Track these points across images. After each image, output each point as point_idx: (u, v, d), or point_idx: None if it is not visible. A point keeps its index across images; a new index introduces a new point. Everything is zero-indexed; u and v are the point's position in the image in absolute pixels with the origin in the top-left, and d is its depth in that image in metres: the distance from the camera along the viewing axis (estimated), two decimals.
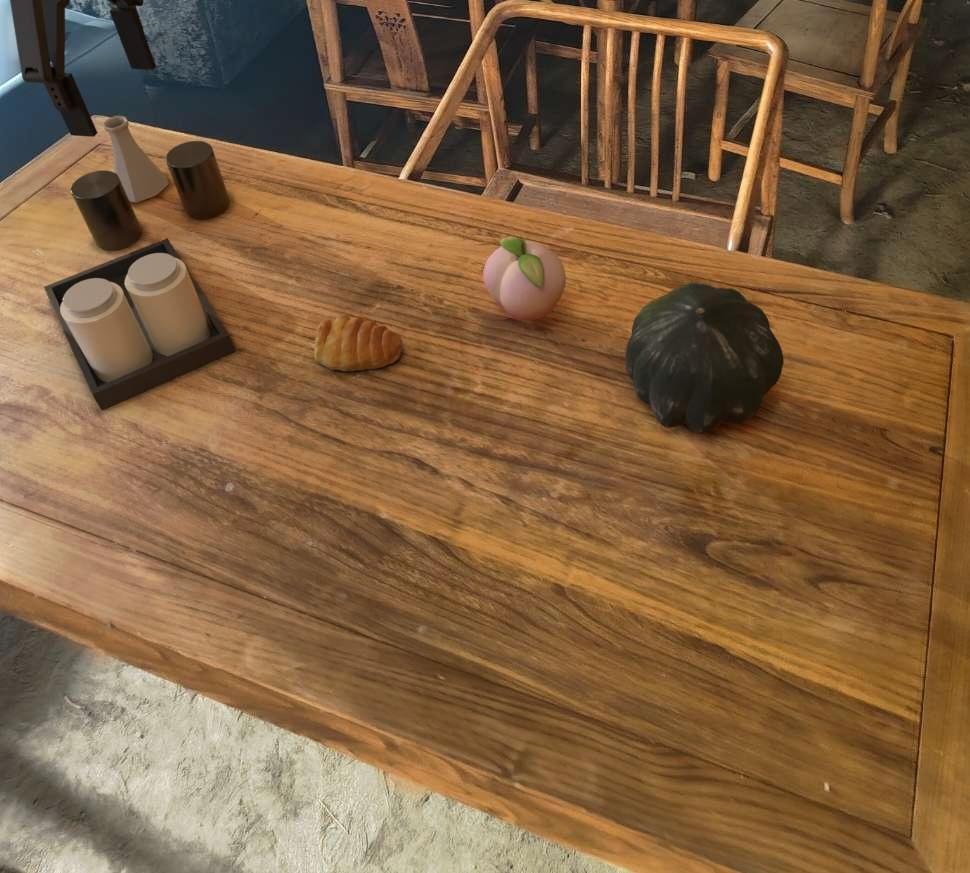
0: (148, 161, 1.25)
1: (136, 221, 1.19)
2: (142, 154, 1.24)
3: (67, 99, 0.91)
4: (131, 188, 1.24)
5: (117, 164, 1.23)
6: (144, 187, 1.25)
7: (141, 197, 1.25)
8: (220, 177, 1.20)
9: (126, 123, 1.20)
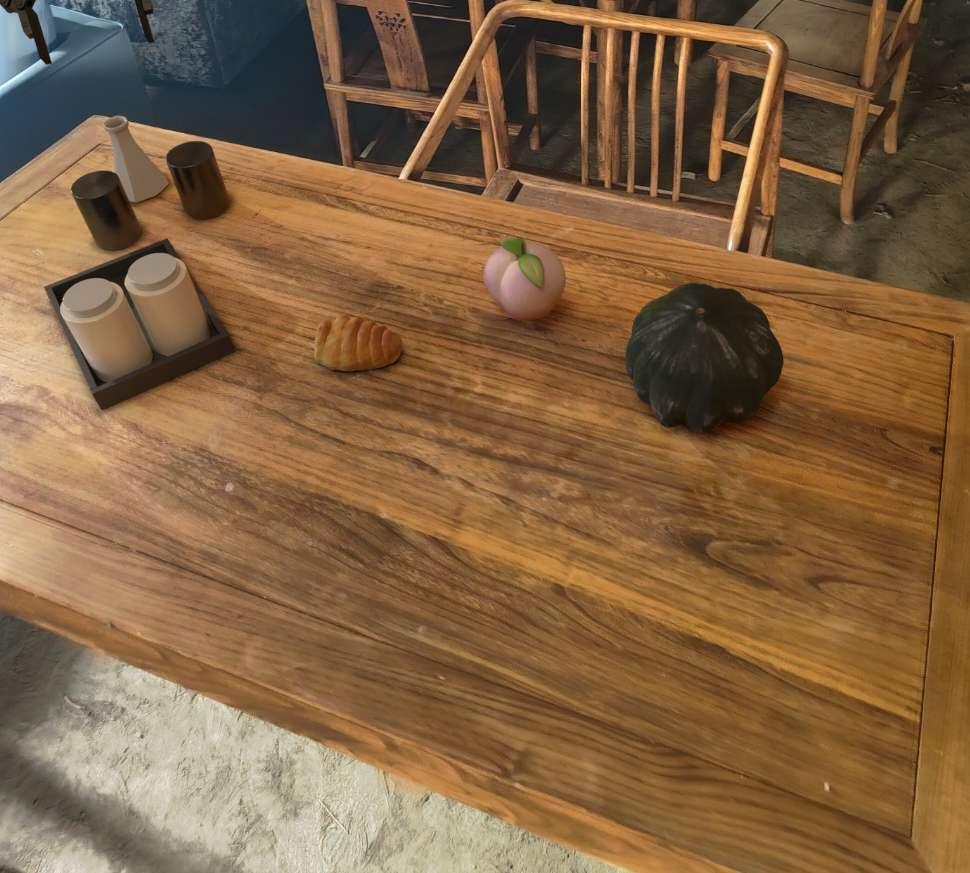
0: (148, 161, 1.25)
1: (136, 221, 1.19)
2: (142, 154, 1.24)
3: (26, 26, 1.21)
4: (131, 188, 1.24)
5: (117, 164, 1.23)
6: (144, 187, 1.25)
7: (141, 197, 1.25)
8: (220, 177, 1.20)
9: (126, 123, 1.20)
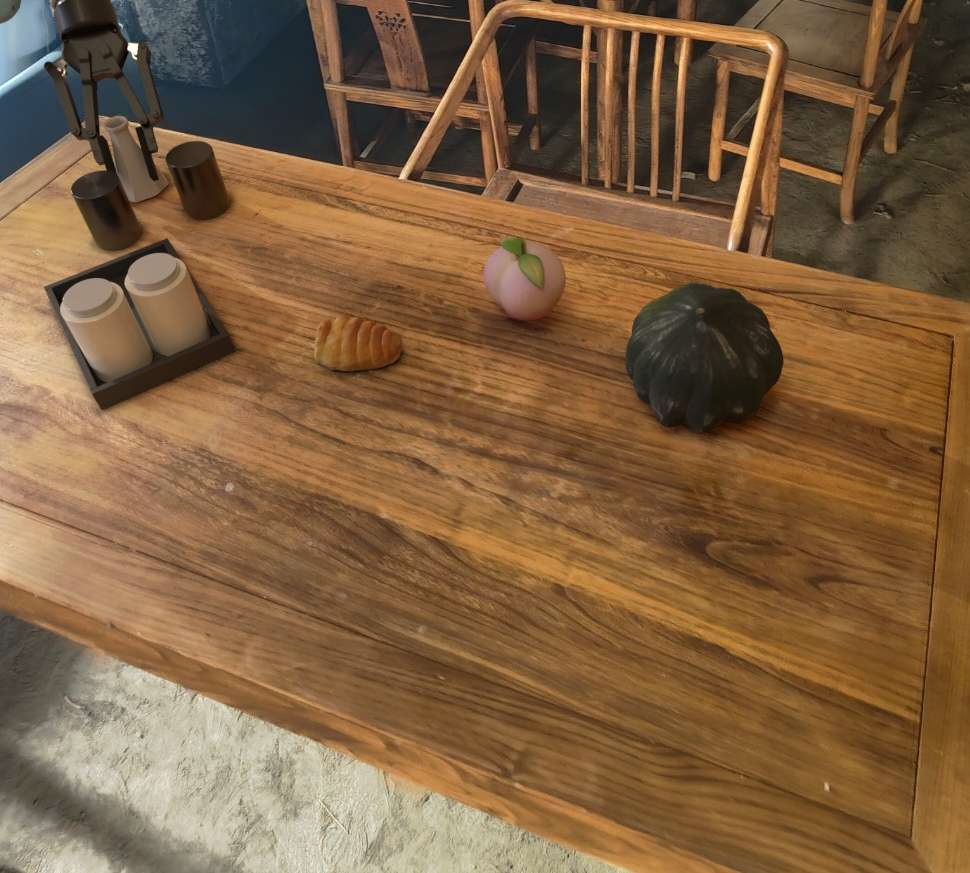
0: None
1: (136, 221, 1.19)
2: (142, 154, 1.24)
3: (97, 154, 1.21)
4: (131, 188, 1.24)
5: (117, 164, 1.23)
6: (144, 187, 1.25)
7: (141, 197, 1.25)
8: (220, 177, 1.20)
9: (126, 123, 1.20)
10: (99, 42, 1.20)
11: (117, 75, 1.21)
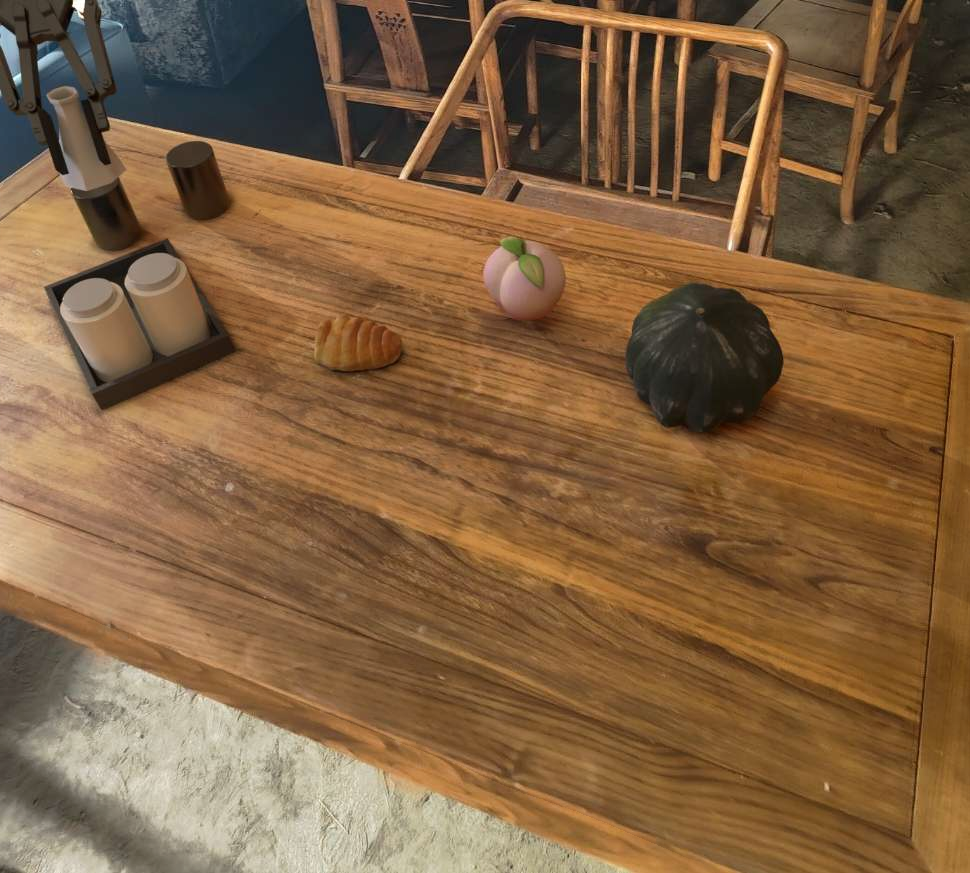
0: None
1: (136, 221, 1.19)
2: None
3: (38, 132, 1.01)
4: (81, 173, 1.04)
5: (64, 144, 1.03)
6: (97, 173, 1.05)
7: (93, 185, 1.05)
8: (220, 177, 1.20)
9: (76, 95, 1.00)
10: None
11: (59, 37, 1.00)
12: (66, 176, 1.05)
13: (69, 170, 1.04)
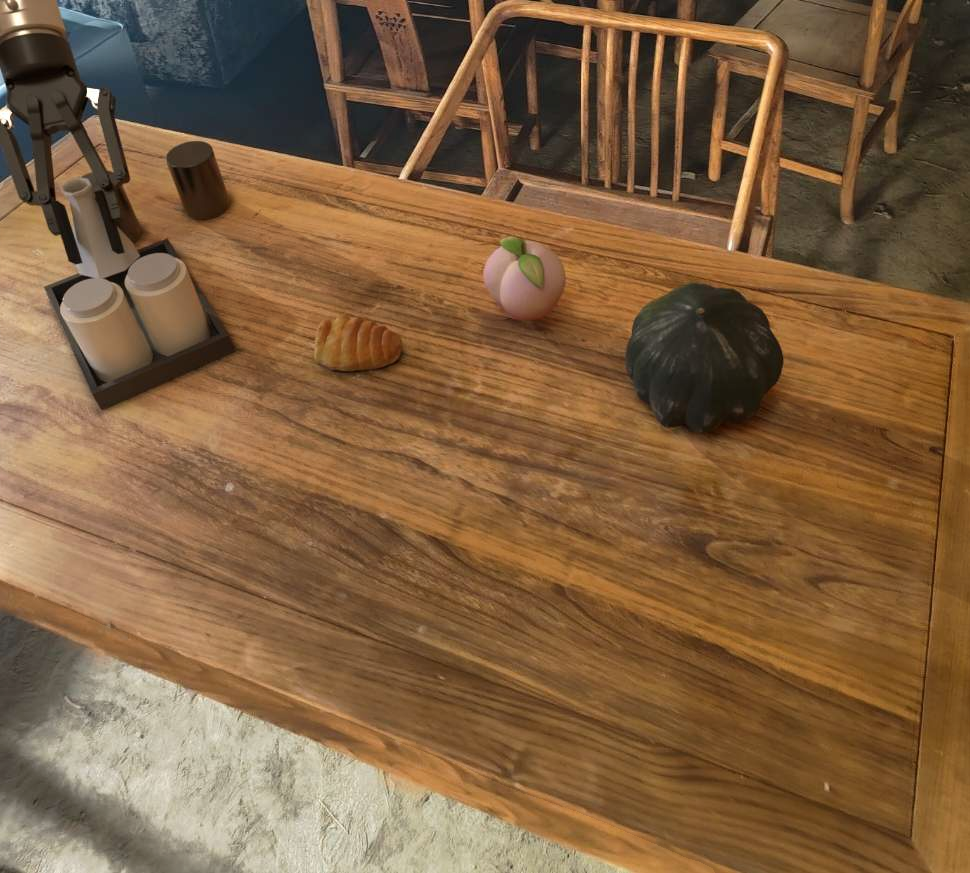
0: None
1: (136, 221, 1.19)
2: None
3: (52, 223, 1.00)
4: (94, 262, 1.03)
5: (77, 234, 1.02)
6: (110, 261, 1.04)
7: (106, 273, 1.04)
8: (220, 177, 1.20)
9: (89, 187, 0.99)
10: (52, 87, 0.99)
11: (73, 128, 0.99)
12: (79, 264, 1.04)
13: (82, 259, 1.04)
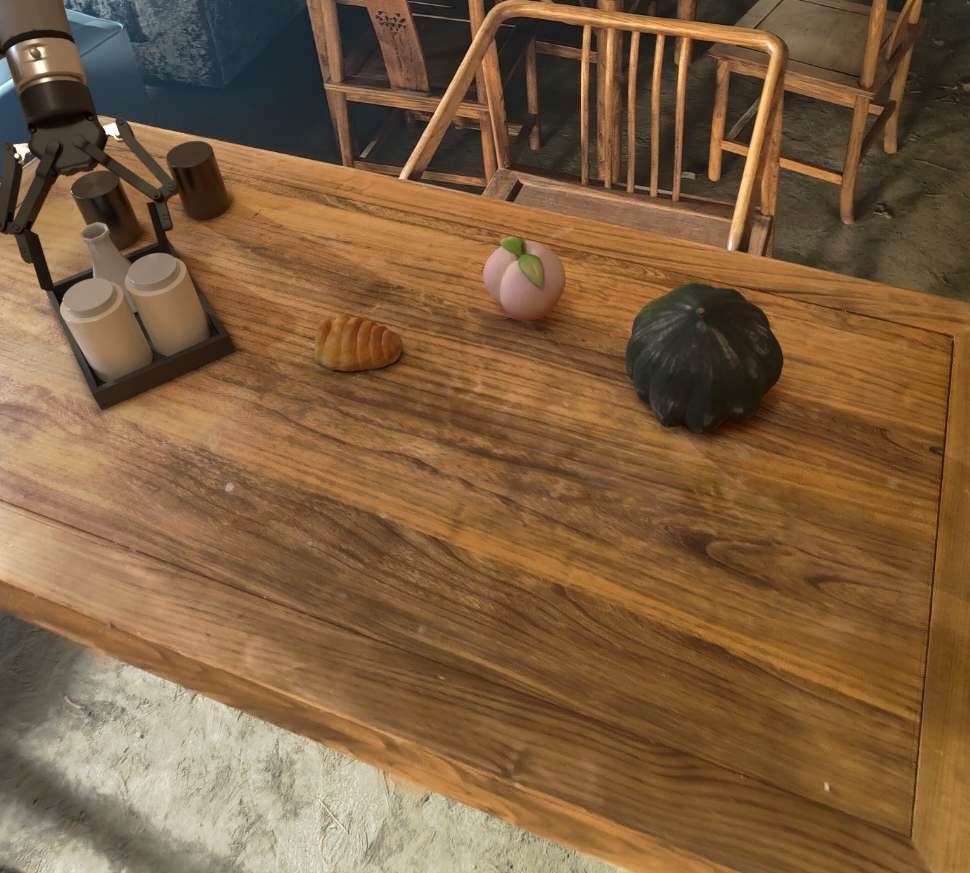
0: None
1: (136, 221, 1.19)
2: (126, 264, 1.07)
3: (25, 252, 1.04)
4: None
5: (97, 276, 1.07)
6: (129, 301, 1.08)
7: None
8: (220, 177, 1.20)
9: (107, 232, 1.04)
10: None
11: (105, 161, 1.04)
12: None
13: None
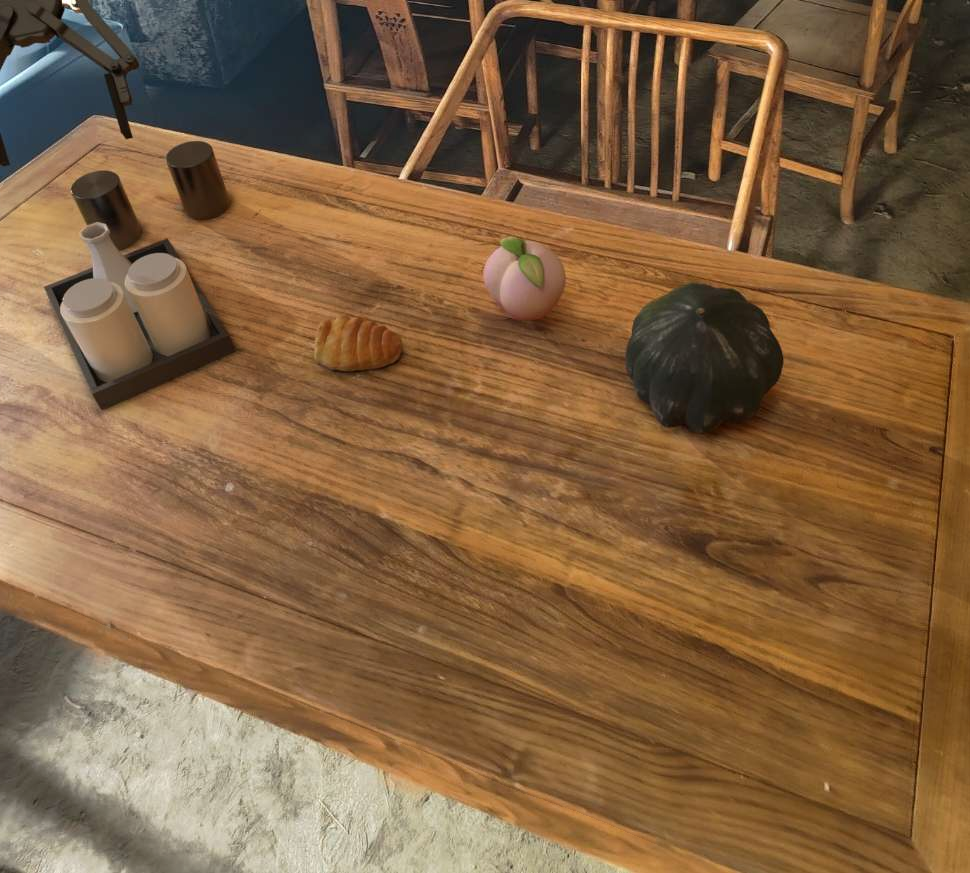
0: None
1: (136, 221, 1.19)
2: (126, 264, 1.07)
3: None
4: None
5: (97, 276, 1.07)
6: (129, 301, 1.08)
7: None
8: (220, 177, 1.20)
9: (107, 232, 1.04)
10: None
11: (61, 29, 1.01)
12: None
13: None
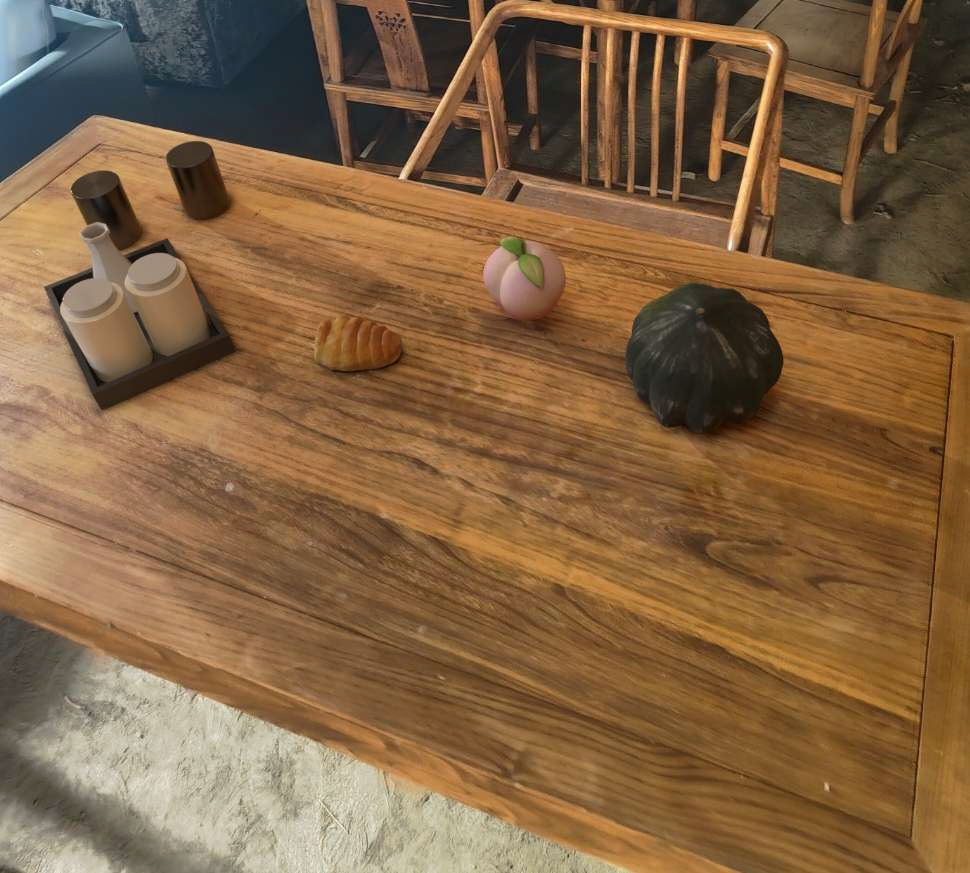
0: None
1: (136, 221, 1.19)
2: (126, 264, 1.07)
3: None
4: None
5: (97, 276, 1.07)
6: (129, 301, 1.08)
7: None
8: (220, 177, 1.20)
9: (107, 232, 1.04)
10: None
11: None
12: None
13: None
